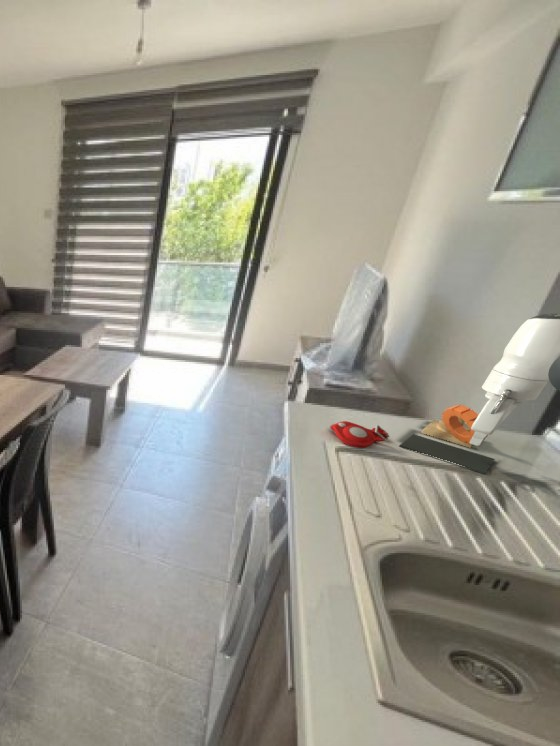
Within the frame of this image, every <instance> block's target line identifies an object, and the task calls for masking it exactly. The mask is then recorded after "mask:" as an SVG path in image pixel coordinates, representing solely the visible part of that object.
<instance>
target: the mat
mask: <svg viewBox="0 0 560 746" xmlns="http://www.w3.org/2000/svg"><path fill="white" fill-rule="evenodd" d="M398 447H399V448H402V449H405V448H406V450H408V449H410V450H409V451H411V450H413V451H412V452H414V451H417V452H416V453H418V452H420V453H419V454H421V453H424V454H428V455H431V456H434V457H437V458H440V459H443V460H447V461H450V462H453V463H456V464H459V465H462V466H465V467H467V468H470V469H472V470H471V471H473V470H475V471H474V472H476V471H477V472H476V473H480V474H482V475H485V474H486V472H487V471H488V470H489V468H490V466H492V464H493V463H494V461H496V459H495V458H493V457H489V456H486V455H483V454H481V453H477V452H474V451H471V450H467V449H464V448H460V447H457V446H454V445H451V444H447V443H444V442H441V441H437V440H434V439H431V438H427V437H424V436H421V435H418V434H414V433H413V434H410V436H409V437H407V438H406V439H405V440H404V441H403V442H402V443H400V444H399V445H398ZM424 454H423V455H424ZM467 468H466V469H467ZM470 469H469V470H470Z"/></svg>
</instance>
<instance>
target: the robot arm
mask: <svg viewBox="0 0 560 746" xmlns="http://www.w3.org/2000/svg"><path fill="white" fill-rule="evenodd" d="M548 382H549V383H550V384H551V386H552V387H553V388H554V389H555V390H557V391H559V392H560V313H543V314H539V315H535V316H532V317H531V318H528V319H526V320H525V321H524V322H523V323H522V324H521V325H520V327H519V328H517V330H516V332H515V333H514V334H513V335H512V337H511V339H510V340H509V342H508V343H507V345H506V346H505V348H504V349H503V354H502V357H501V359H500V360H499V361H498V363H496V364H495V365H494V366H493V367H492V369H491V371H490V373H488V375H487V378H486V379H485V380H484V382H483V384H482V386H481V389H482V390H483V391H485V392H486V393H485V394H484V397H485V398H486V399H488V400H487V401H486V403H485V404H484V406H483V407H482V408H481V410H480V412H479V413H478V417H477V418H476V420H475V421H474V423H473V425H472V427H471V429H472V430H474V431H475V433H474V435H473V437H472V439H471V440H470V444H473V446H476V447H478V446H481V444H482V443H483V441H484V440H483V439H484V438H485V437H486V436H487V434H488V436H490V435H493V434H494V432H496V430H497V429H498V428H499V427H500V425H501V424H502V423H503V422H504V421H505V419H506V418H507V417H508V416H509V415H510V414H511V413H512V412H513V411H514V410H515V408H516V407H518V406H519V407H520V406H523V405H524V404H525V403H526V401H527V402H531V401H535V400H537V398H538V397H539V396H540V394H541V392H542V391H543V390H544V388H545V387H546V385H547V384H548ZM488 436H487V437H488ZM487 437H486V438H487ZM486 438H485V439H486Z"/></svg>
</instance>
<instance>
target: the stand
mask: <svg viewBox="0 0 560 746" xmlns="http://www.w3.org/2000/svg"><path fill="white" fill-rule="evenodd" d="M458 419H459V422H460V424H461V425H462V427H464V428H465V429H466V430H467V431H469V432H470V428H469V426H468V425H467V423H466V422H465V421H464V420H462V419H461V418H459V417H458ZM444 424H445V423H444V422H443V418H441V419H440V420H439V421H438V420H435V419H434V420H432V421H431V422H430V423H428V424H427V425H426V426H425V427H424V428H423V429H422V431H421V434H423V435H426V434H427V435H426V436H429V435H430V437H433V436H434V437H433V438H436V437H437V439H439V438H440V439H439V440H442V441H446V440H447V442H449V441H450V442H449V443H453V444H456V445H460V446H463V447H467V448H470V449H471V448H472V447H473V446H474V445H473V444H467V443H464V442H461V441H459V440H458V439H456V438H455V437H454V436H453V435H452V434H451V433H450V432H451V431H448V430H447V428H446V426H445V425H444Z"/></svg>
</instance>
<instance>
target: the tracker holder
mask: <svg viewBox="0 0 560 746" xmlns="http://www.w3.org/2000/svg"><path fill="white" fill-rule="evenodd" d="M330 429H331V430H332V431H333V432H334V434H335V435H336V437H337V439H338V440H340V441H341V442H342V443H343V444H345V445H347V446H350V447H353V448H357V449H358V448H359V449H362V448H363V449H364V448H368V447H370V446H372V445H373V444H374V443H375V442H376V443H378V442H379V443H380V442H384V441H385V442H388V441H389V438H390V434H389V433H388V432H387V431H386V429H385V430H384V429H383V428H382V427H381V426H380V425H378V424H376V425H375V427H373V428H372V429H370V428H367V427H365V426H363V425H359V424H357V423H354V422H351V421H346V420H343V421H339V422H336V423H334V424H333V423H332V424H331V425H330Z"/></svg>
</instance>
